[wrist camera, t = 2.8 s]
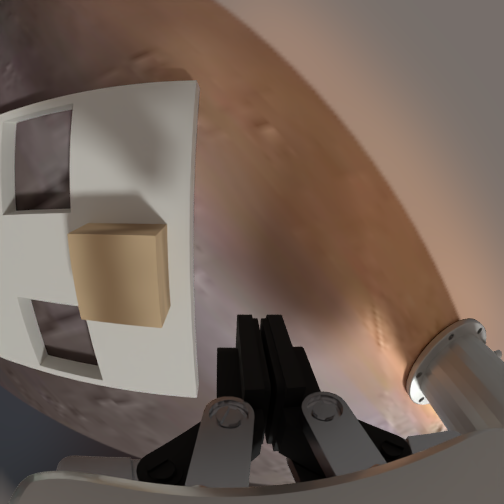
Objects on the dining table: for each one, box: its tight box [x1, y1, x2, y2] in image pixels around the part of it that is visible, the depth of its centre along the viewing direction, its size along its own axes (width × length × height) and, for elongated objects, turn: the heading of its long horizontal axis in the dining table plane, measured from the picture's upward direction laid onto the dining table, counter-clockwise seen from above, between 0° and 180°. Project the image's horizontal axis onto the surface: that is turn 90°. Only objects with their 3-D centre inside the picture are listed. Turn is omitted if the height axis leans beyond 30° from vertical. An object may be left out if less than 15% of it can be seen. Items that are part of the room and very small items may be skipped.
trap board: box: [0, 80, 200, 398], centre depth 18 cm, size 26×25×4 cm
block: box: [67, 223, 171, 328], centre depth 17 cm, size 6×6×3 cm
